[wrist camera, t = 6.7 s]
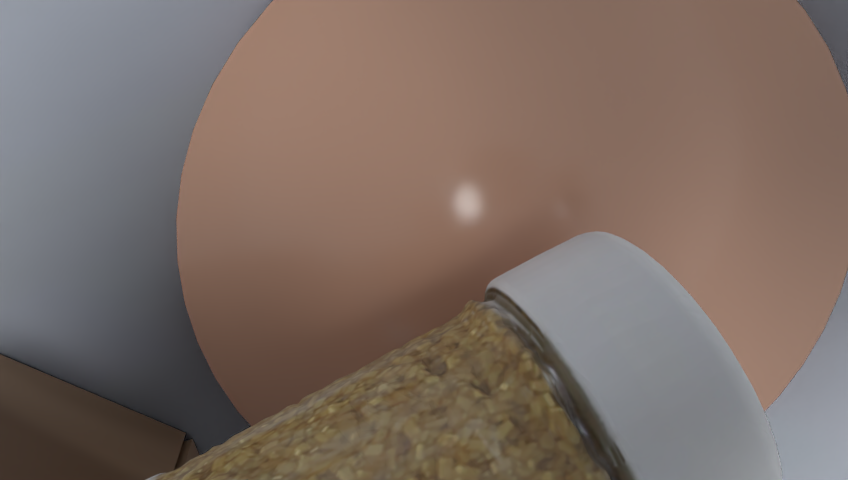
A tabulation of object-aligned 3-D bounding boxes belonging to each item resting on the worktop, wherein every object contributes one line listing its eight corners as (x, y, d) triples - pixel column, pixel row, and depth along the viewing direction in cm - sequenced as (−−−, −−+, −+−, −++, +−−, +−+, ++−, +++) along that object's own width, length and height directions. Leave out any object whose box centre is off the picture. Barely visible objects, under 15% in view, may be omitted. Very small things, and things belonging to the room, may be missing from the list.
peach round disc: (845, 420, 16) (869, 445, 15) (300, 557, 16) (298, 588, 15) (816, -202, 12) (847, -209, 11) (77, -5, 12) (58, 0, 11)
